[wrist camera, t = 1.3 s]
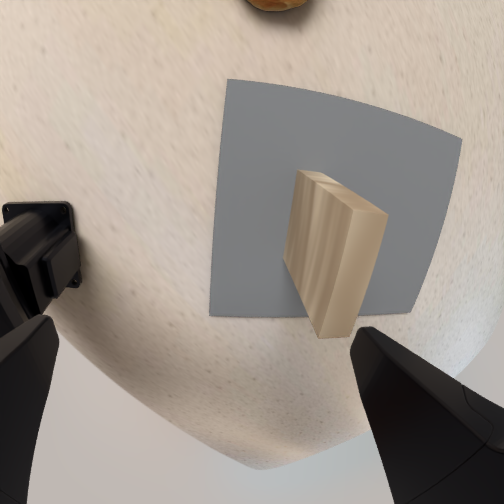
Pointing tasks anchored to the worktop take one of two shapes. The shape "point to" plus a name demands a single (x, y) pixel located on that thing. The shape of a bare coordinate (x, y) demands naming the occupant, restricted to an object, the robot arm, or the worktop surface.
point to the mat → (339, 169)
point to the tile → (331, 250)
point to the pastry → (276, 4)
